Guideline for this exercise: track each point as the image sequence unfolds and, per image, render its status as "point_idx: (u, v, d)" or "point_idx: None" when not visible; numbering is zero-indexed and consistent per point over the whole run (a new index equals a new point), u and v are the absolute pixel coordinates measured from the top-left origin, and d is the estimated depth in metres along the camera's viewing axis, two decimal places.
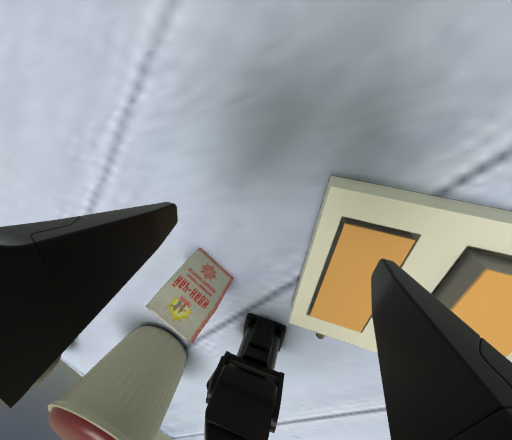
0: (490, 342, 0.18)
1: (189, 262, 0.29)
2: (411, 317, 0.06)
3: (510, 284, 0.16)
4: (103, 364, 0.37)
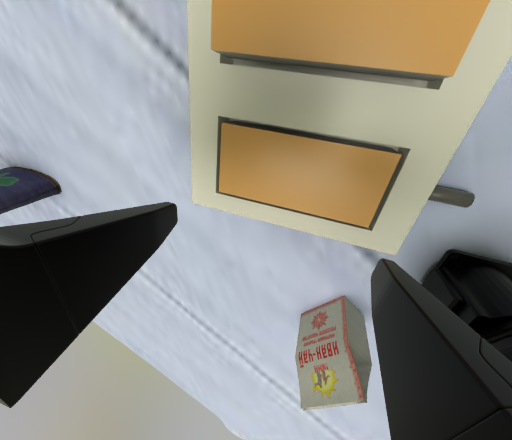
0: None
1: (300, 334, 0.27)
2: (411, 317, 0.06)
3: (222, 9, 0.12)
4: None
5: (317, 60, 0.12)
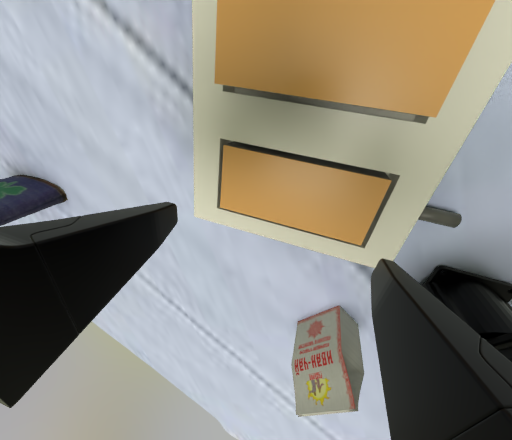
0: (341, 7, 0.11)
1: (296, 342, 0.27)
2: (411, 317, 0.06)
3: (225, 49, 0.13)
4: None
5: (312, 97, 0.13)
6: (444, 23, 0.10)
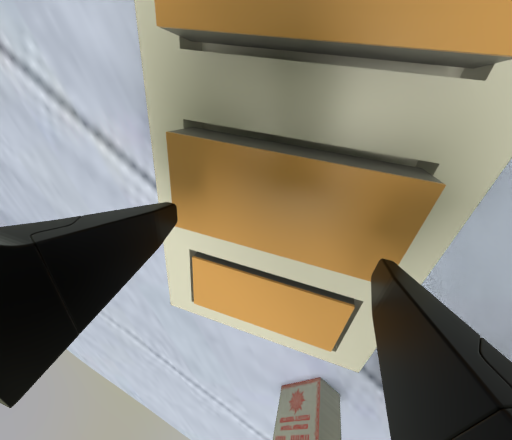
0: (286, 191, 0.11)
1: (279, 412, 0.28)
2: (411, 317, 0.06)
3: (181, 203, 0.13)
4: None
5: (267, 251, 0.13)
6: (385, 216, 0.10)
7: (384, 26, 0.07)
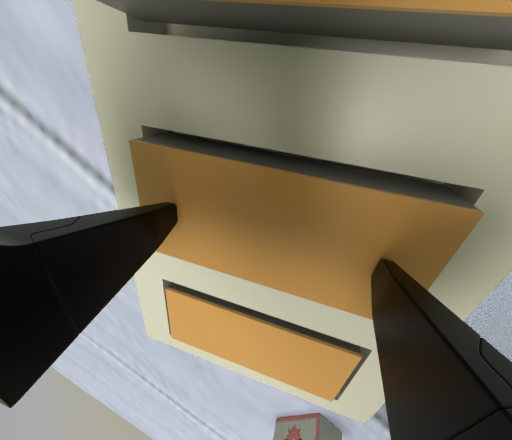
0: (276, 214, 0.09)
1: None
2: (411, 317, 0.06)
3: None
4: None
5: (256, 282, 0.11)
6: (401, 248, 0.08)
7: None
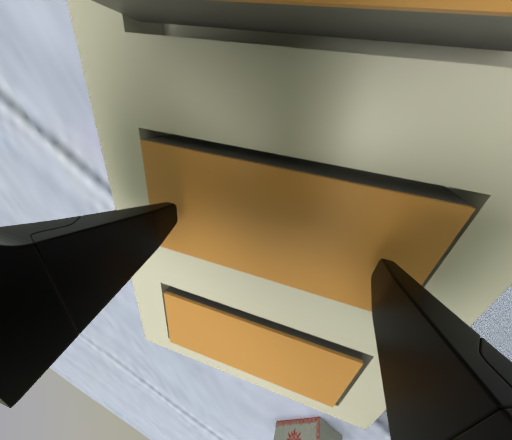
0: (280, 211, 0.09)
1: None
2: (411, 317, 0.06)
3: None
4: None
5: (260, 276, 0.11)
6: (398, 242, 0.09)
7: None
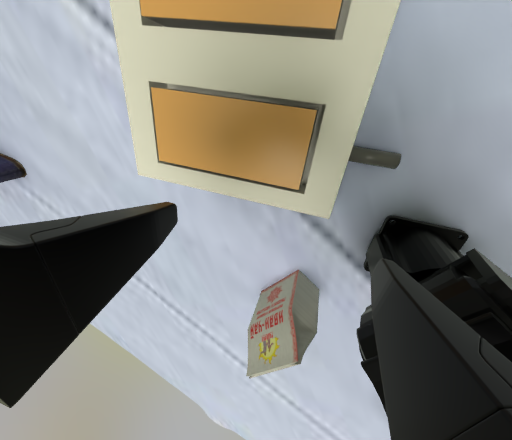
0: None
1: (256, 309, 0.27)
2: (411, 317, 0.06)
3: None
4: None
5: (227, 20, 0.14)
6: None
7: None
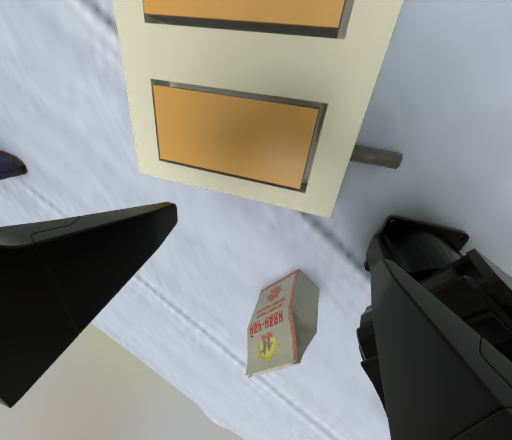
0: None
1: (256, 308, 0.27)
2: (411, 317, 0.06)
3: None
4: None
5: (230, 18, 0.14)
6: None
7: None
